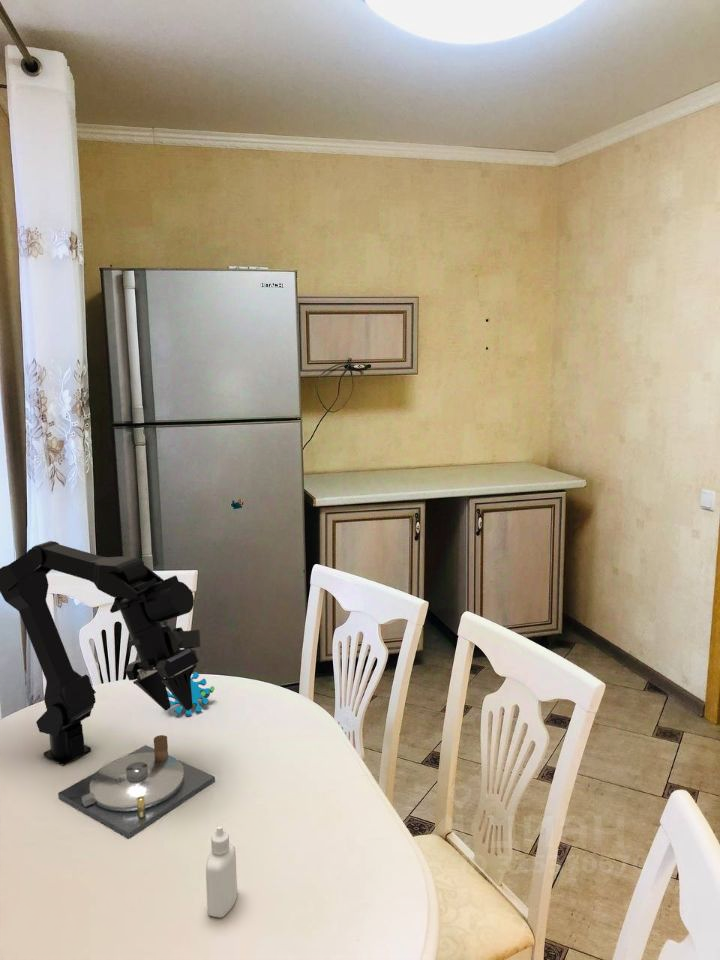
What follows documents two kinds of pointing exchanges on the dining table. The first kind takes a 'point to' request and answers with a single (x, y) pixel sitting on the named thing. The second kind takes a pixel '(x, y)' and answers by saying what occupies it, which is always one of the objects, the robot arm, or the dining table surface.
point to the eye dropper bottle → (221, 875)
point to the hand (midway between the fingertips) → (178, 709)
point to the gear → (194, 695)
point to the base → (142, 817)
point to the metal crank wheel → (136, 779)
